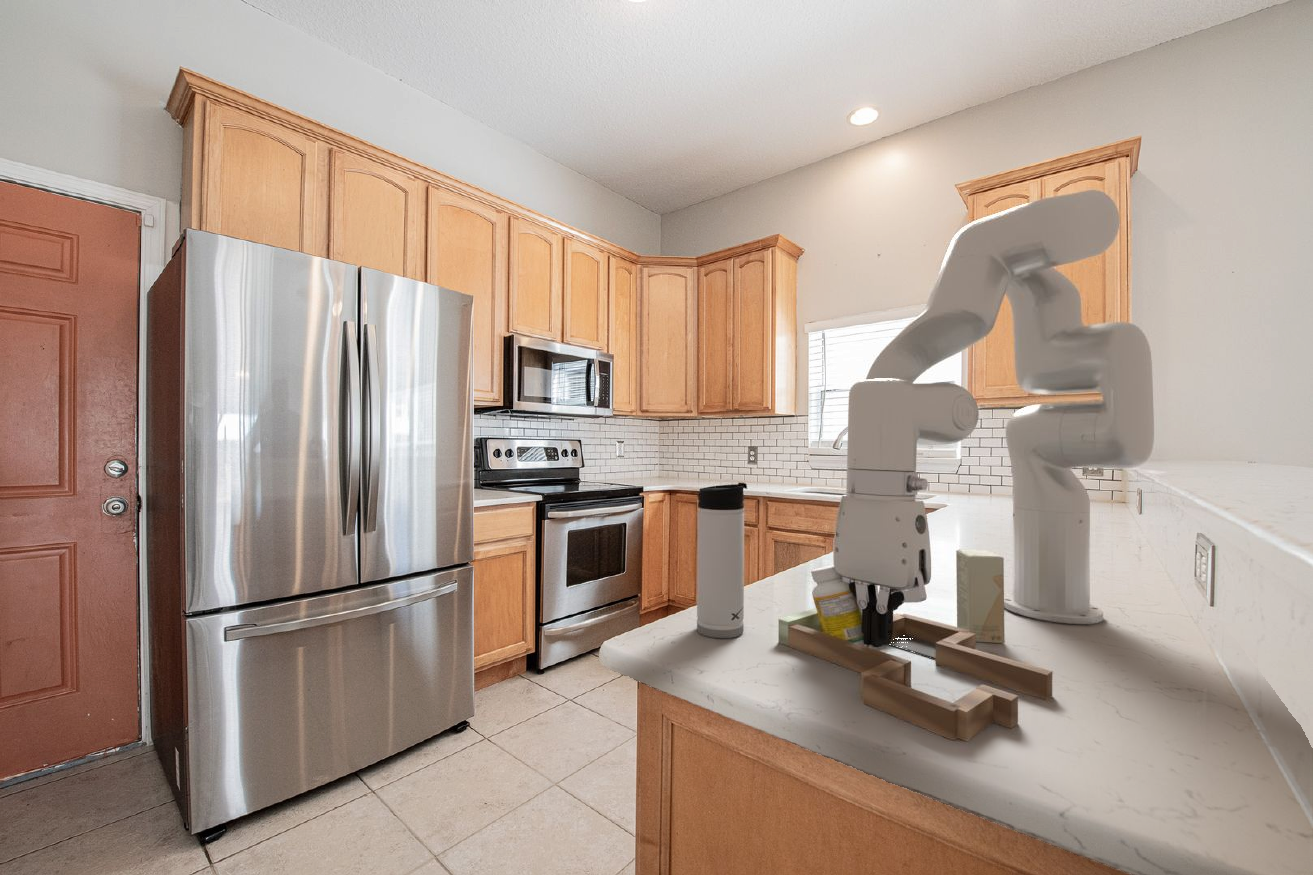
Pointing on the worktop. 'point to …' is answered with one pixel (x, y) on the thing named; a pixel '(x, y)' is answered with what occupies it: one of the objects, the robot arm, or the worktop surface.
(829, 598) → the supplement bottle
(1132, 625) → the worktop surface
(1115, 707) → the worktop surface
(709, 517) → the travel mug
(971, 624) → the box
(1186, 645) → the worktop surface
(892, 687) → the box
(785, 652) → the worktop surface
